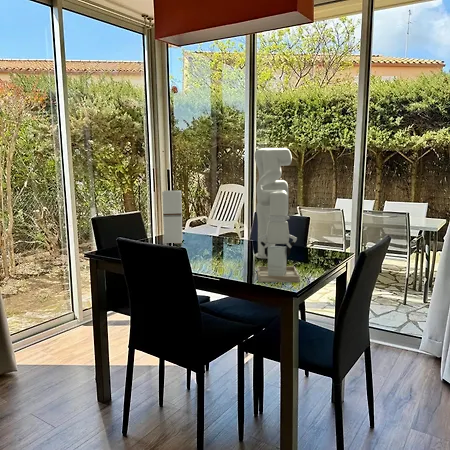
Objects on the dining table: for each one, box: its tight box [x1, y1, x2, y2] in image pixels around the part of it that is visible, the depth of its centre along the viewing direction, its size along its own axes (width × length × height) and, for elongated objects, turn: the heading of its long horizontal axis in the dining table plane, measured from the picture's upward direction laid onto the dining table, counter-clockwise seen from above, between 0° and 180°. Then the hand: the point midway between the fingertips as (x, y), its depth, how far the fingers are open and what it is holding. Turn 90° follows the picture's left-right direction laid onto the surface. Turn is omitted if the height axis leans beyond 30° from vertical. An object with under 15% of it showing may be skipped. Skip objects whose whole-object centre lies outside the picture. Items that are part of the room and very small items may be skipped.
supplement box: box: [267, 245, 287, 276], centre depth 190 cm, size 7×7×13 cm
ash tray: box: [256, 266, 301, 283], centre depth 191 cm, size 18×18×2 cm
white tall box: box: [162, 190, 183, 245], centre depth 268 cm, size 11×11×35 cm
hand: (277, 255), depth 190 cm, fingers open, 9 cm apart
